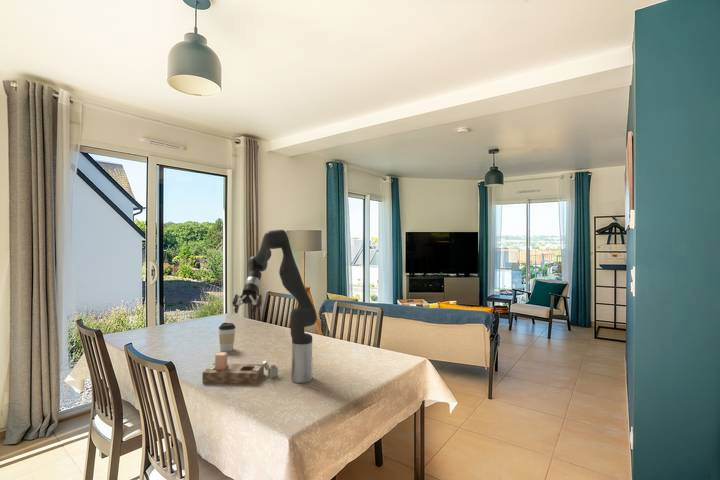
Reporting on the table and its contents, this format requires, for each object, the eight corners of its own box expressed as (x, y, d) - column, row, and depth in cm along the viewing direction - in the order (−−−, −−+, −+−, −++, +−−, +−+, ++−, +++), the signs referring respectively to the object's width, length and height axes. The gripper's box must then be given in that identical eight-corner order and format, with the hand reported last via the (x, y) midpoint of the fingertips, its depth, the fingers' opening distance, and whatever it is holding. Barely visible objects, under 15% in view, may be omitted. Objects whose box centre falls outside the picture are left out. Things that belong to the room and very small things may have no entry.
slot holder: (263, 373, 175) (263, 363, 175) (256, 383, 163) (256, 372, 163) (213, 372, 175) (213, 362, 175) (202, 382, 163) (202, 371, 163)
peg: (227, 374, 171) (227, 352, 171) (223, 377, 167) (224, 355, 167) (218, 373, 171) (218, 352, 171) (214, 377, 167) (215, 355, 167)
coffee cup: (238, 349, 211) (238, 323, 211) (223, 353, 205) (223, 326, 205) (230, 346, 217) (230, 321, 217) (215, 349, 211) (215, 323, 211)
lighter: (275, 374, 174) (276, 357, 174) (277, 375, 172) (278, 358, 172) (262, 378, 169) (262, 361, 169) (263, 379, 168) (264, 362, 168)
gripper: (236, 282, 193) (228, 308, 182) (263, 282, 193) (257, 308, 182) (239, 291, 199) (232, 316, 187) (266, 291, 199) (260, 317, 187)
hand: (244, 312), depth 185 cm, fingers open, 8 cm apart
